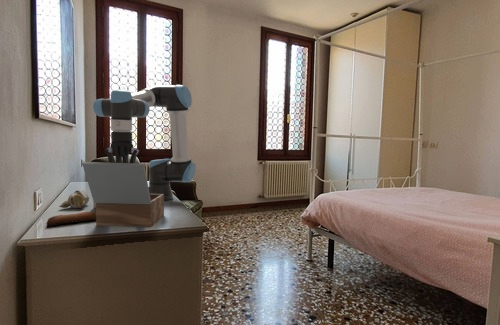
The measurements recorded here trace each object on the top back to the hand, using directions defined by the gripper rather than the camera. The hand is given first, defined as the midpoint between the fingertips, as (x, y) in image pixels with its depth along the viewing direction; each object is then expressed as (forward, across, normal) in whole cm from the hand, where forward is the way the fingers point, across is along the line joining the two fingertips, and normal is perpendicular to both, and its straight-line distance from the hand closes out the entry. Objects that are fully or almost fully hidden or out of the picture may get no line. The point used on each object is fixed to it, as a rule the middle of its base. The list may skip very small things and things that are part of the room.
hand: (122, 191), depth 119 cm
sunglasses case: (+15, -23, +4) cm, 28 cm away
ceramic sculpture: (+16, -36, +29) cm, 49 cm away
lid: (-4, 0, -3) cm, 5 cm away
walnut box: (+15, 0, +9) cm, 17 cm away
